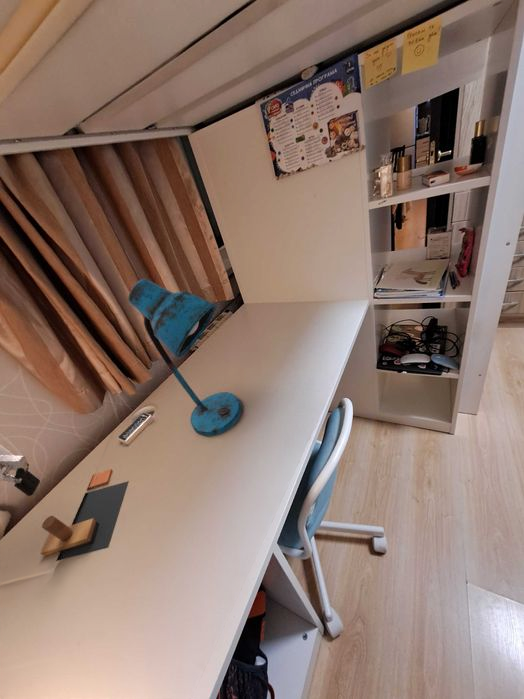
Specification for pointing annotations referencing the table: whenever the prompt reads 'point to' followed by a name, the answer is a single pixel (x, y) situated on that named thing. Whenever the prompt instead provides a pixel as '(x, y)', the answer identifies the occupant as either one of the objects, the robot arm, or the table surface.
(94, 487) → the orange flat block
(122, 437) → the multiport hub
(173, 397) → the table surface
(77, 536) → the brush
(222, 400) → the desk lamp
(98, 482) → the orange square tile
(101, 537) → the mat
